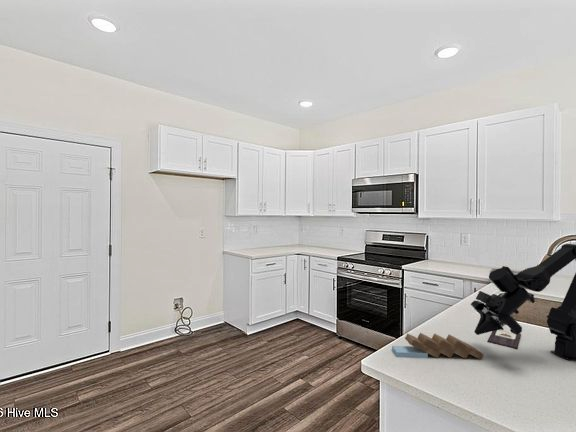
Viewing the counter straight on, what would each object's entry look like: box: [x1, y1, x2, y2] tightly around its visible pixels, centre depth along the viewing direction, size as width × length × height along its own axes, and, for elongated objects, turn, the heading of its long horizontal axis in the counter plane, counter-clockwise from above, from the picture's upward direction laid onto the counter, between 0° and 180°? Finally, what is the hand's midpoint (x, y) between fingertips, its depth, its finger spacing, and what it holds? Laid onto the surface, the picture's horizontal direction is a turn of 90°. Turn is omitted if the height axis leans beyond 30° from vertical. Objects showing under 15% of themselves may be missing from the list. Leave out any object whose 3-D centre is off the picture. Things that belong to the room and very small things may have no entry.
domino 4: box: [431, 333, 470, 360], centre depth 104 cm, size 2×5×10 cm
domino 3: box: [417, 332, 455, 359], centre depth 104 cm, size 2×5×10 cm
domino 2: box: [404, 332, 441, 359], centre depth 104 cm, size 2×5×10 cm
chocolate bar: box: [487, 329, 522, 350], centre depth 120 cm, size 9×1×18 cm
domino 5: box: [445, 334, 484, 360], centre depth 104 cm, size 2×5×10 cm
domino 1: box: [391, 345, 429, 359], centre depth 104 cm, size 2×5×10 cm
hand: (475, 333), depth 104 cm, fingers closed
